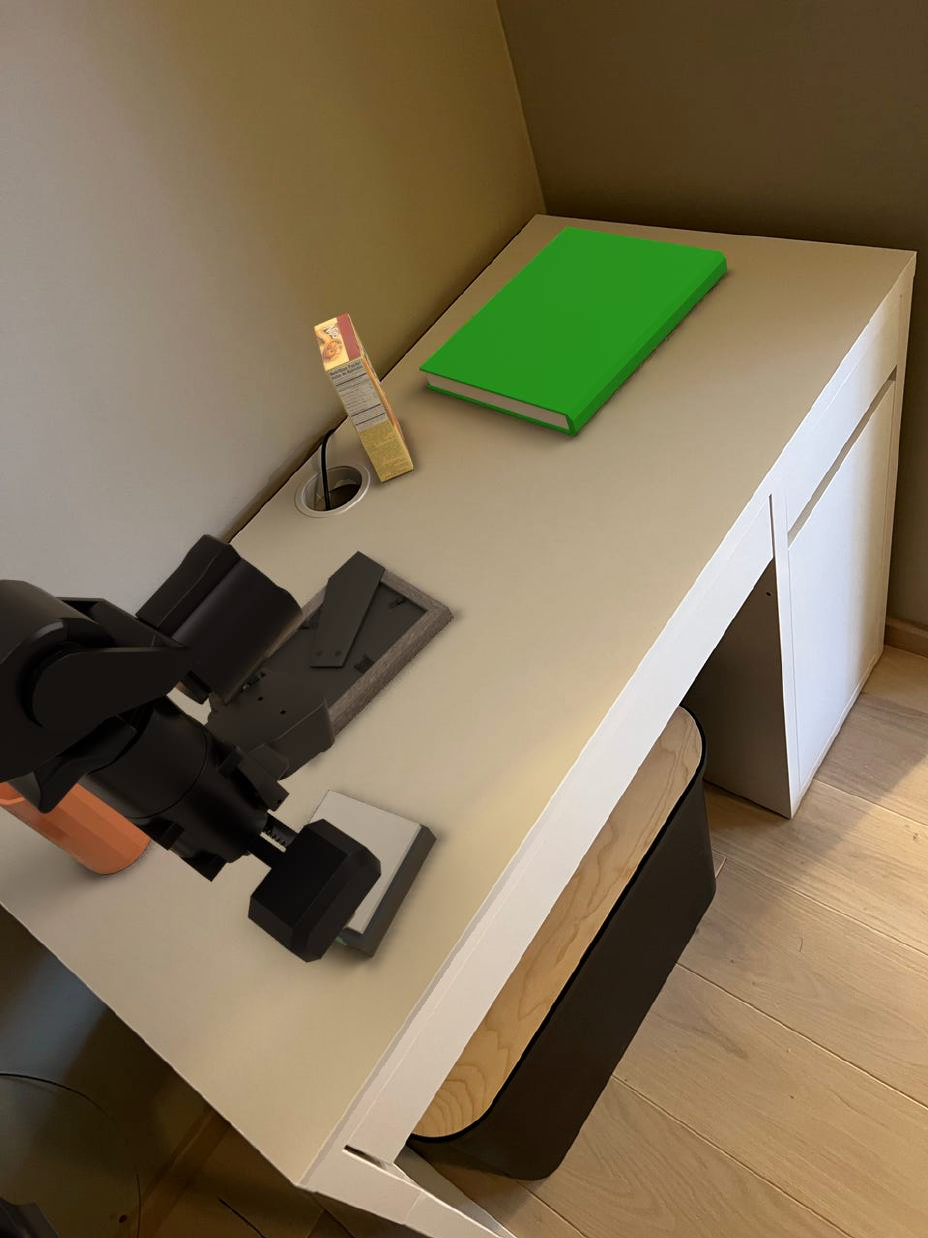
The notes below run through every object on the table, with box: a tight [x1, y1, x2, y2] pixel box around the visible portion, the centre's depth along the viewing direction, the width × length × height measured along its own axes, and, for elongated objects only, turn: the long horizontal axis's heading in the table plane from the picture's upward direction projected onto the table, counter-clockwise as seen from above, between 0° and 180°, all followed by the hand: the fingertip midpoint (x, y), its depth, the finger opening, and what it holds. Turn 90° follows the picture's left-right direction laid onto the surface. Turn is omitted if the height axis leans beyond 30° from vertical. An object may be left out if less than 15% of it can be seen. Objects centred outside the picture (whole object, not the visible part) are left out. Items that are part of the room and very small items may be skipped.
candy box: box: [313, 312, 414, 483], centre depth 101 cm, size 9×4×15 cm, turn 15°
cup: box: [0, 782, 151, 875], centre depth 80 cm, size 7×7×13 cm
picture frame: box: [244, 550, 454, 737], centre depth 90 cm, size 13×2×18 cm
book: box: [418, 226, 728, 437], centre depth 109 cm, size 22×28×3 cm
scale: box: [307, 789, 437, 958], centre depth 75 cm, size 10×10×3 cm
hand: (298, 882), depth 60 cm, fingers open, 9 cm apart
